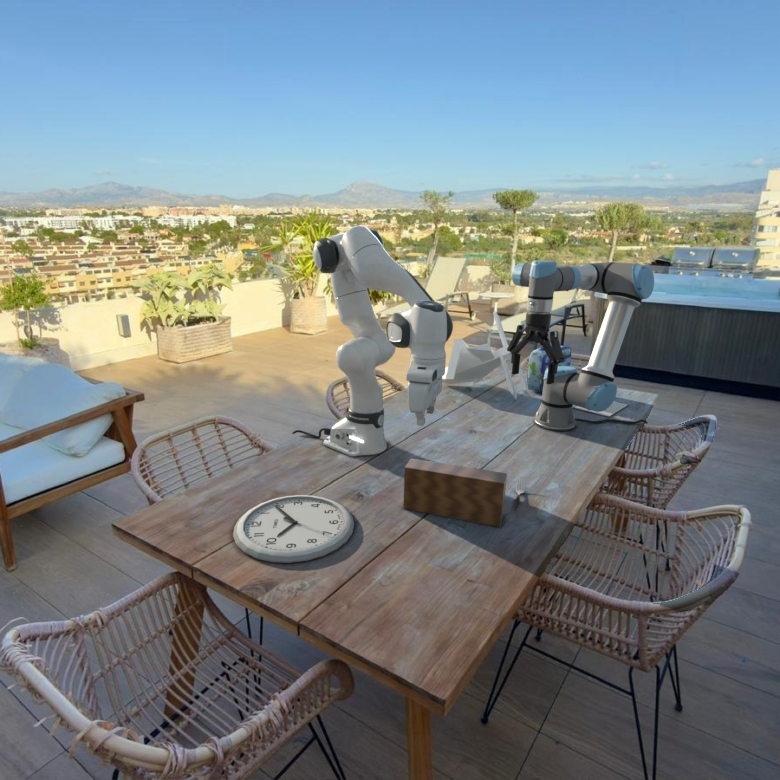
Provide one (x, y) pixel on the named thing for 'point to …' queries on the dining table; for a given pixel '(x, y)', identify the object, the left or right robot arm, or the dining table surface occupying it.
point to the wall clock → (293, 529)
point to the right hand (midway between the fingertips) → (532, 378)
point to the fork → (519, 491)
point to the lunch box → (542, 367)
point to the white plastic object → (480, 362)
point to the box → (455, 491)
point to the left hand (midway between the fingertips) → (425, 418)
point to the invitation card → (609, 411)
